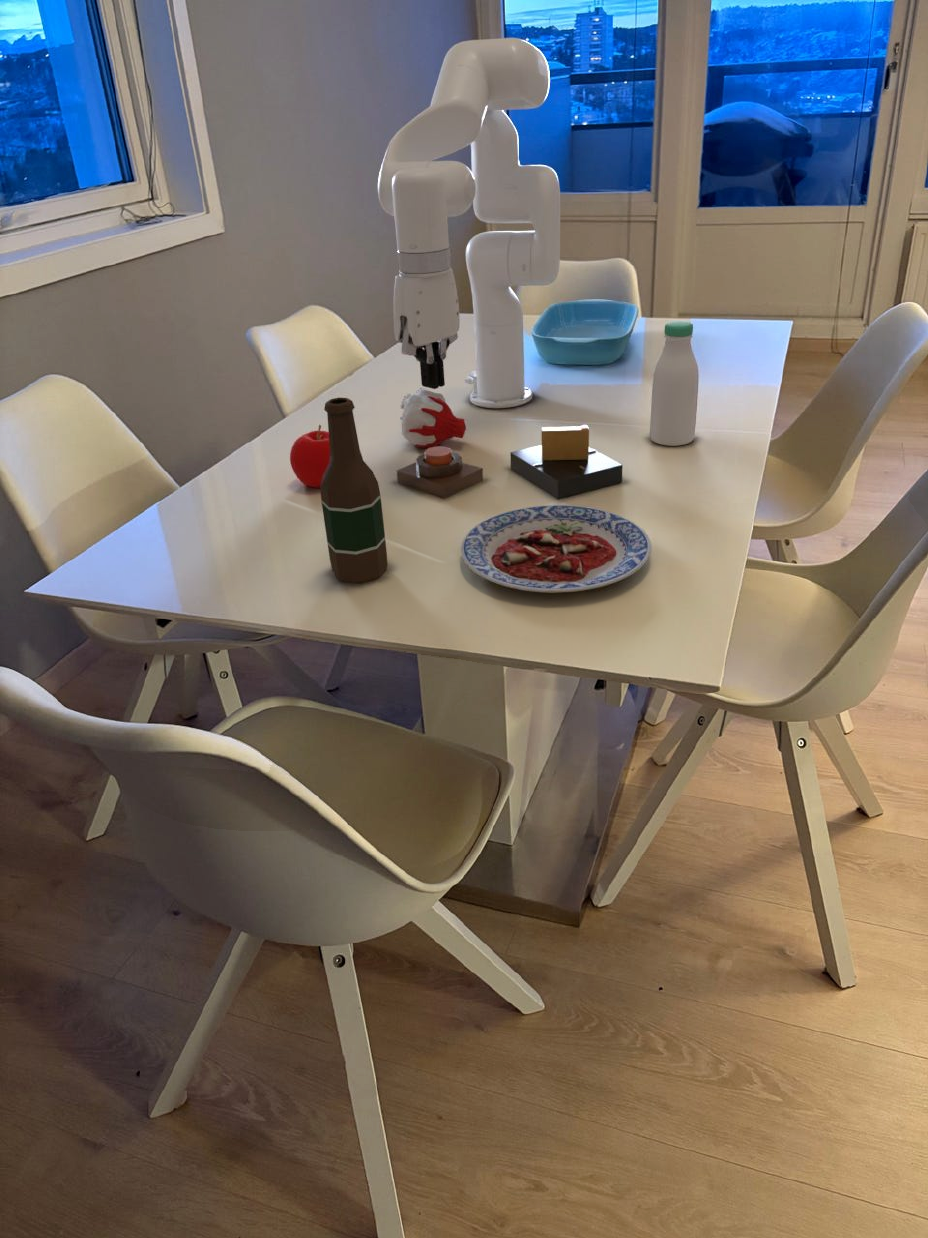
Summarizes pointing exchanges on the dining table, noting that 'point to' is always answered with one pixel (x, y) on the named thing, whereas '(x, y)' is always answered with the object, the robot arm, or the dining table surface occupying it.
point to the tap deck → (566, 472)
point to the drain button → (438, 455)
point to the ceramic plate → (556, 548)
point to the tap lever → (565, 443)
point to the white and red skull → (429, 419)
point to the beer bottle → (351, 502)
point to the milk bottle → (675, 388)
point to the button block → (440, 476)
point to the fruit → (311, 457)
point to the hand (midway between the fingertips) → (433, 385)
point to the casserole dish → (584, 331)
